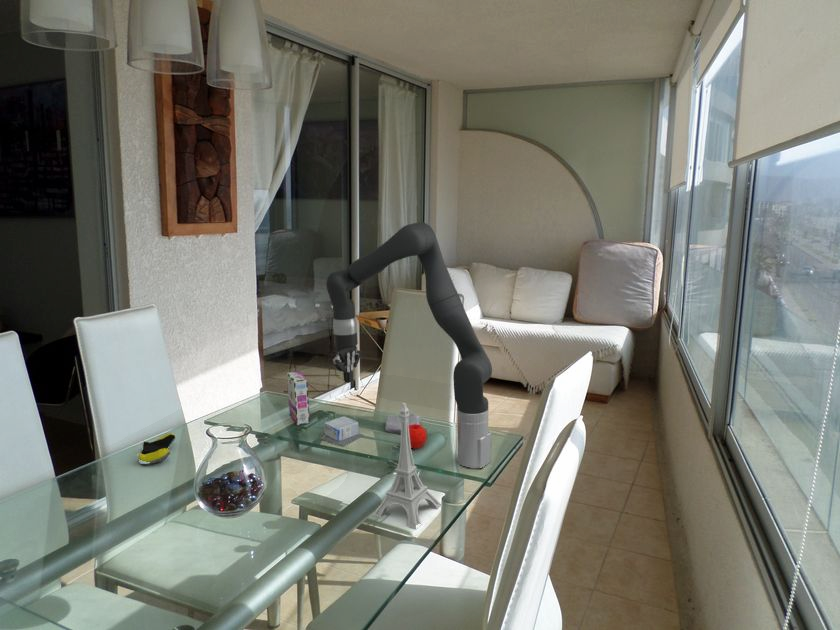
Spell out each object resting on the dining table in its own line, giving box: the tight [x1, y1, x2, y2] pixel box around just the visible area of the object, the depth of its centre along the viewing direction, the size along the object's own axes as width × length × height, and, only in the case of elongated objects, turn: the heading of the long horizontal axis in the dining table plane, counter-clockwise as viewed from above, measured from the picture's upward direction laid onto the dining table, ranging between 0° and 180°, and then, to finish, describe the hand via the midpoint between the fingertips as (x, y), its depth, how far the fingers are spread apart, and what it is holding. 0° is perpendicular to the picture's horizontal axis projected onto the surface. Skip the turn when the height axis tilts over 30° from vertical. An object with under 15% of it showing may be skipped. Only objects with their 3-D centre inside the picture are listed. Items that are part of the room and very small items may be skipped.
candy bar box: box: [286, 370, 311, 426], centre depth 231 cm, size 11×5×16 cm, turn 25°
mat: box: [320, 433, 364, 447], centre depth 217 cm, size 10×10×1 cm
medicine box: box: [323, 415, 360, 441], centre depth 218 cm, size 8×4×9 cm
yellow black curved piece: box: [136, 432, 176, 464], centre depth 205 cm, size 15×6×10 cm
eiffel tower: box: [371, 402, 443, 530], centre depth 168 cm, size 13×13×30 cm
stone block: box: [385, 413, 421, 434], centre depth 222 cm, size 12×5×10 cm
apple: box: [409, 424, 428, 450], centre depth 208 cm, size 8×8×7 cm
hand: (348, 381), depth 216 cm, fingers closed
